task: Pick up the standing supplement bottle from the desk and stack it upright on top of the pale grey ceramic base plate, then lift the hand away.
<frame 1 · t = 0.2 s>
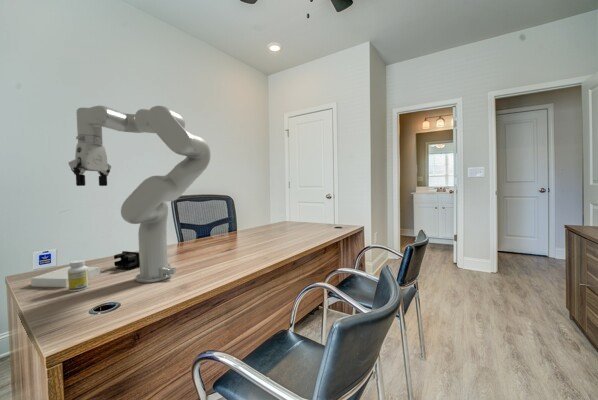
hand: (92, 185, 103), 36 cm above the table, tool pointing down, fingers open, 9 cm apart
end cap: (129, 267, 117), on the table
supplement bottle: (79, 289, 92), on the table
base plate: (67, 279, 102), on the table
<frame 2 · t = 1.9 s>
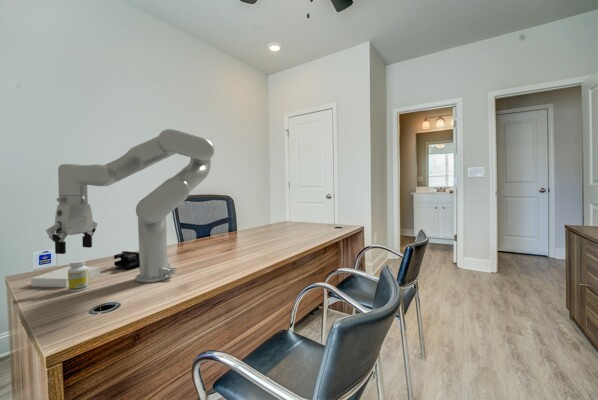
hand: (74, 250, 91), 14 cm above the table, tool pointing down, fingers open, 9 cm apart
nothing on the table moved.
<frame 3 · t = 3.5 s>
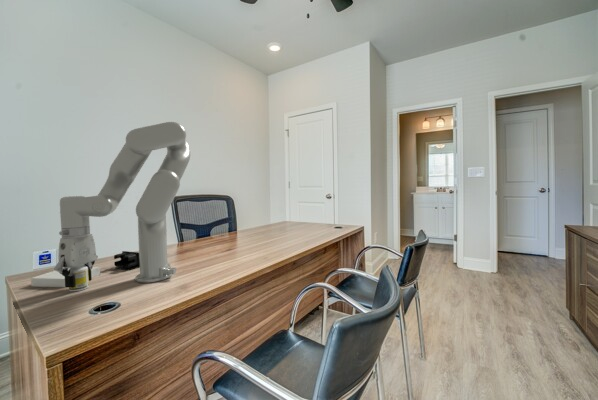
hand: (78, 283, 92), 2 cm above the table, tool pointing down, fingers closed on supplement bottle, 5 cm apart
supplement bottle: (79, 289, 92), on the table, touching gripper
everything else where it was.
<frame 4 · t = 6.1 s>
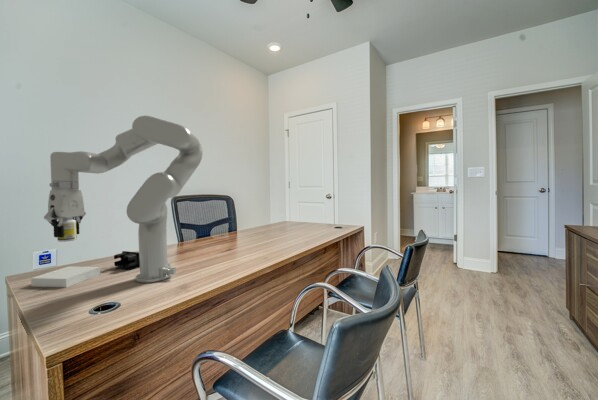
hand: (67, 235, 97), 18 cm above the table, tool pointing down, fingers closed on supplement bottle, 5 cm apart
supplement bottle: (67, 241, 98), point 16 cm above the table, touching gripper
everything else where it was.
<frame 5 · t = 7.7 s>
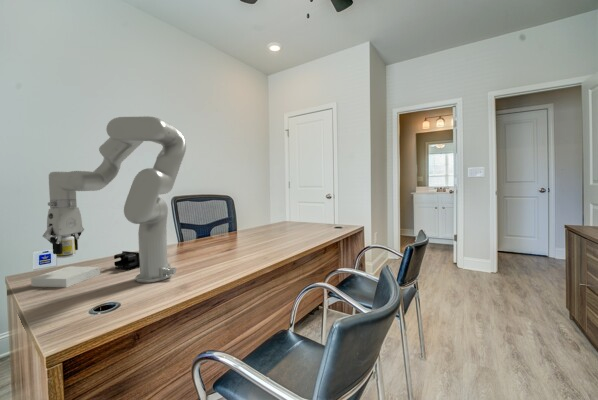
hand: (65, 251, 101), 11 cm above the table, tool pointing down, fingers closed on supplement bottle, 5 cm apart
supplement bottle: (66, 257, 101), point 9 cm above the table, touching gripper
everything else where it was.
when the fingers open (6 cm above the table, at t = 9.0 s): supplement bottle drops 1 cm, resting on base plate.
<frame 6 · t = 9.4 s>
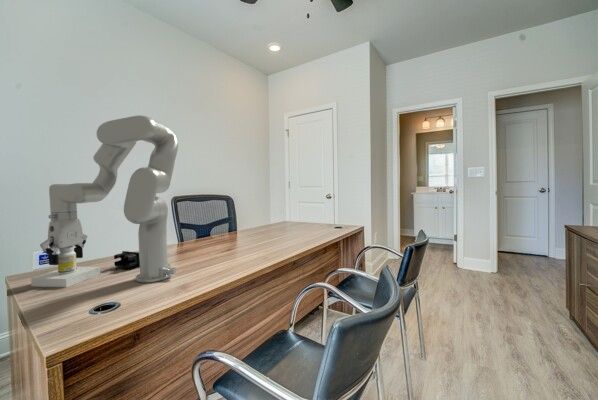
hand: (66, 261, 101), 7 cm above the table, tool pointing down, fingers open, 9 cm apart
supplement bottle: (67, 272, 101), point 3 cm above the table, touching base plate
everything else where it was.
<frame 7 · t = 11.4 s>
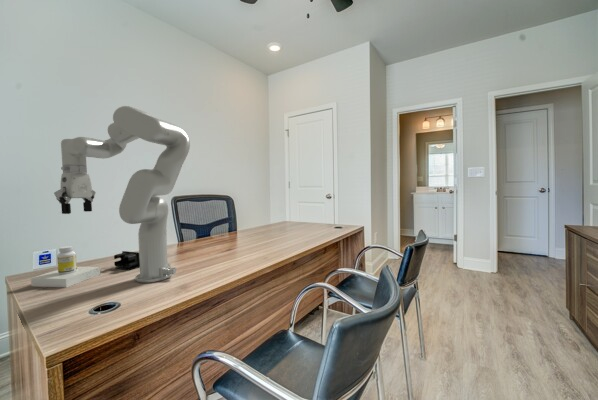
hand: (77, 212, 108), 25 cm above the table, tool pointing down, fingers open, 9 cm apart
nothing on the table moved.
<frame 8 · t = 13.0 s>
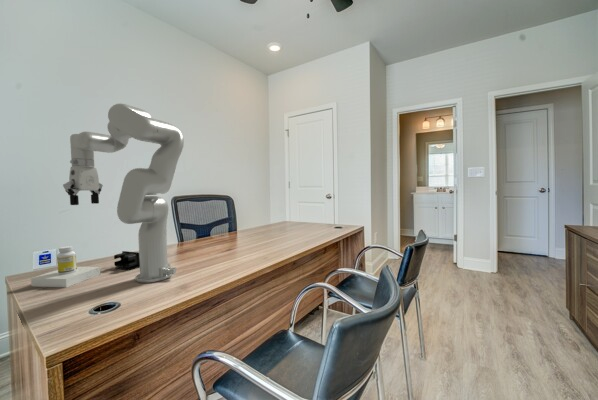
hand: (85, 204, 113), 28 cm above the table, tool pointing down, fingers open, 9 cm apart
nothing on the table moved.
at the end: supplement bottle inside the target area on the base plate (0.2 cm from its centre), point 2.8 cm above the base plate's base; supplement bottle tilted 0°; supplement bottle touching base plate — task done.
